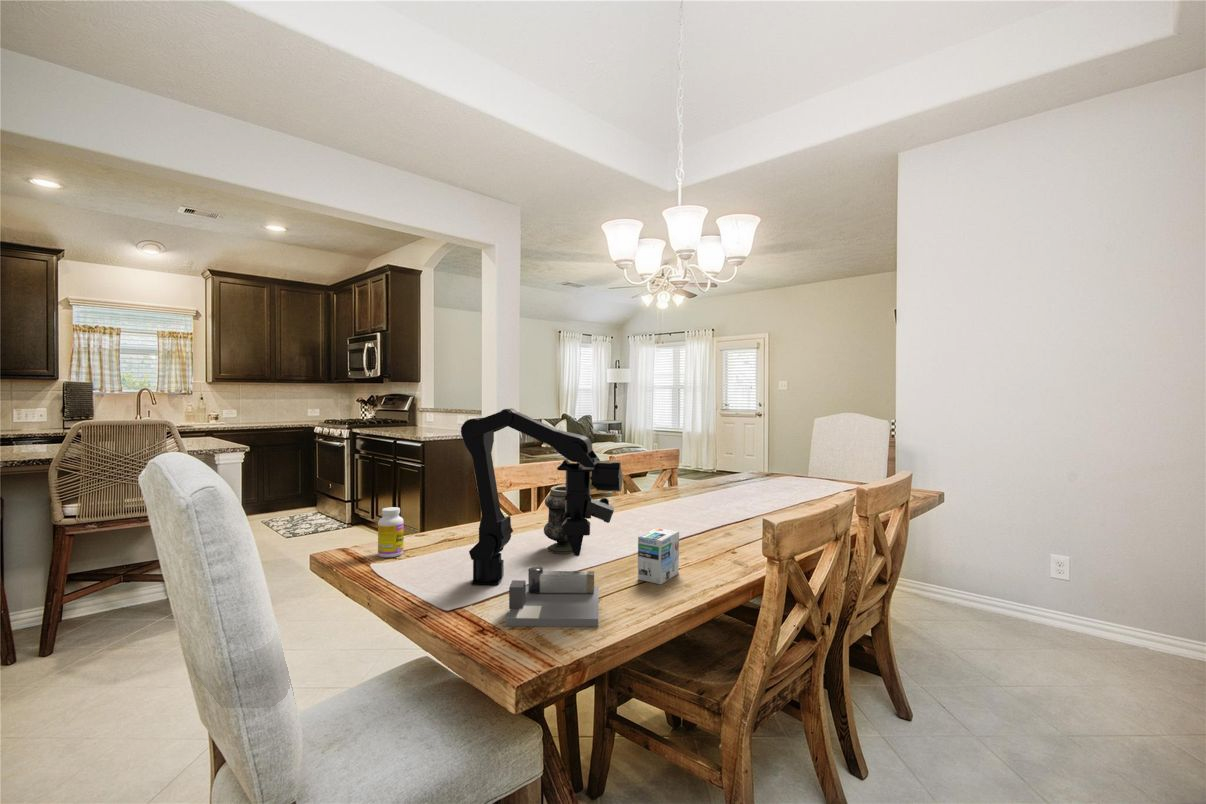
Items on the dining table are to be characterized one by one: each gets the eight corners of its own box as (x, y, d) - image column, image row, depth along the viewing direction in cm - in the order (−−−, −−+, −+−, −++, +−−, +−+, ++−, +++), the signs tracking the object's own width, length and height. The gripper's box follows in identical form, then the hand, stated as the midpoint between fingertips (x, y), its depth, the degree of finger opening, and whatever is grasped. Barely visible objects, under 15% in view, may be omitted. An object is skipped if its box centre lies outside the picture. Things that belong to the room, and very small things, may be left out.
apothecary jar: (584, 556, 152) (585, 491, 151) (541, 555, 151) (542, 491, 151) (585, 543, 164) (585, 484, 163) (545, 543, 163) (545, 484, 163)
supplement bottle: (398, 558, 148) (398, 511, 147) (373, 558, 148) (373, 511, 148) (407, 551, 154) (407, 506, 154) (384, 550, 155) (384, 506, 154)
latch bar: (527, 593, 119) (527, 571, 119) (529, 587, 122) (529, 566, 122) (594, 593, 119) (594, 571, 119) (594, 588, 122) (594, 567, 122)
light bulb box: (661, 585, 129) (661, 540, 129) (636, 580, 133) (636, 536, 133) (679, 572, 138) (680, 530, 138) (655, 568, 142) (656, 527, 142)
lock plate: (505, 625, 106) (505, 595, 106) (518, 591, 124) (519, 565, 124) (598, 626, 107) (598, 596, 106) (598, 592, 125) (598, 566, 124)
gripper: (613, 498, 118) (612, 569, 118) (611, 483, 136) (610, 544, 137) (561, 497, 118) (561, 568, 118) (567, 482, 136) (566, 544, 137)
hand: (577, 555), depth 127 cm, fingers closed
